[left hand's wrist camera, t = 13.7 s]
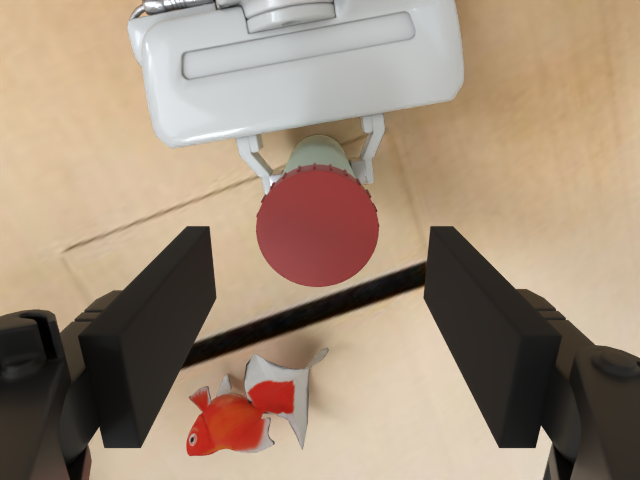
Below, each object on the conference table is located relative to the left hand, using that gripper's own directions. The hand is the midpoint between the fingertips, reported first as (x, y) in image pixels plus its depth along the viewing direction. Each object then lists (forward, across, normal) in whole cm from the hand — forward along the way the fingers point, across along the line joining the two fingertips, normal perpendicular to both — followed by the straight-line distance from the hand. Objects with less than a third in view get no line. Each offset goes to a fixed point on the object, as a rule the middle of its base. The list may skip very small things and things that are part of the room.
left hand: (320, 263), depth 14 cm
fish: (+22, -6, -22) cm, 32 cm away
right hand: (+16, 0, -1) cm, 16 cm away
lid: (+4, 0, 0) cm, 4 cm away
